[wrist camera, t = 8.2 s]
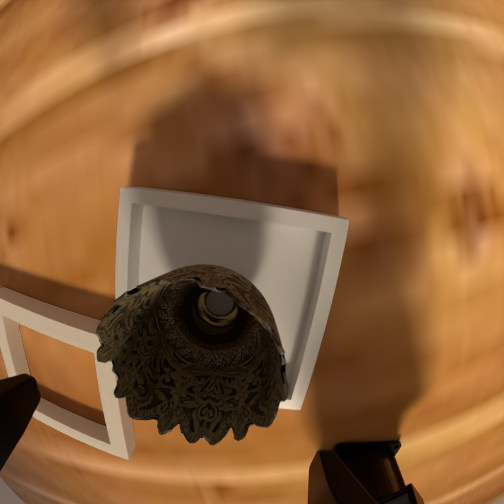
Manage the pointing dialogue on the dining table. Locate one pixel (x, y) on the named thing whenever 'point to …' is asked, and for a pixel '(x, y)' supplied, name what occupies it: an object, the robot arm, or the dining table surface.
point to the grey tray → (240, 259)
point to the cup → (195, 354)
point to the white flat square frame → (77, 334)
